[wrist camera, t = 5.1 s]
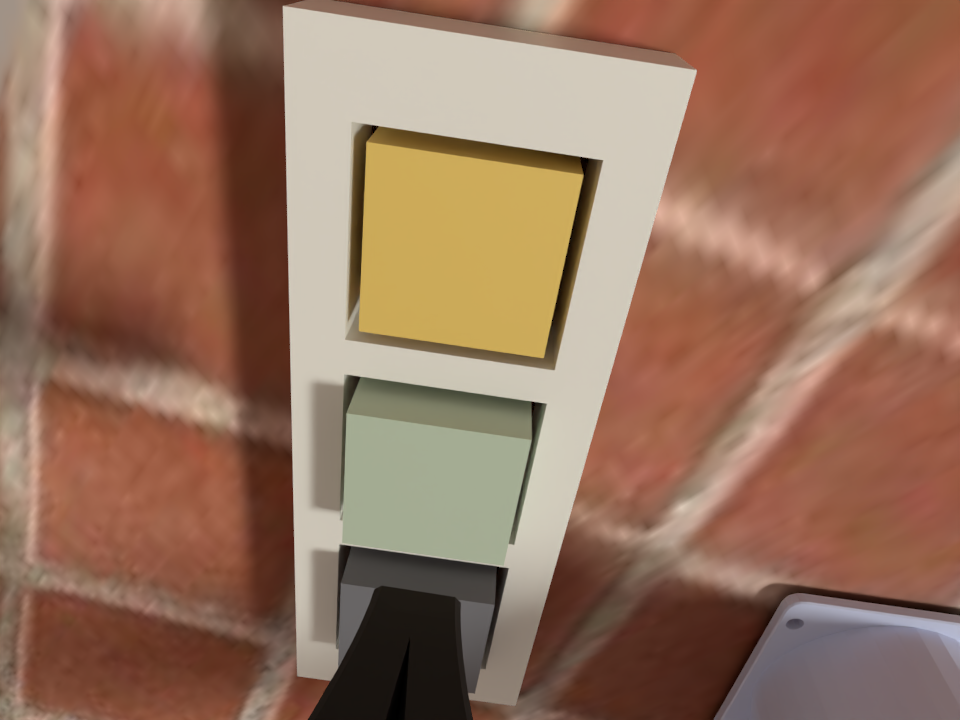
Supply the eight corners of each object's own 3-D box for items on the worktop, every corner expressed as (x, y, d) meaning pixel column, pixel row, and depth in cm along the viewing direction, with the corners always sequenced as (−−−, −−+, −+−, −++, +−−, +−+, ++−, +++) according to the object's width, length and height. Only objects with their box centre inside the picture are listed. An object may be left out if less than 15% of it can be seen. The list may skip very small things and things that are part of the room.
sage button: (506, 513, 18) (503, 565, 16) (357, 491, 18) (342, 542, 16) (531, 392, 16) (531, 440, 14) (363, 368, 16) (346, 413, 14)
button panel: (516, 650, 23) (515, 706, 21) (314, 621, 23) (296, 676, 21) (674, 53, 13) (697, 70, 11) (315, -3, 13) (282, 5, 11)
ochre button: (542, 318, 16) (543, 358, 14) (374, 293, 16) (358, 331, 14) (577, 149, 14) (583, 174, 12) (384, 119, 14) (366, 142, 12)
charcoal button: (478, 638, 21) (474, 693, 19) (351, 621, 21) (337, 674, 19) (497, 551, 19) (494, 604, 17) (356, 531, 19) (341, 583, 17)
